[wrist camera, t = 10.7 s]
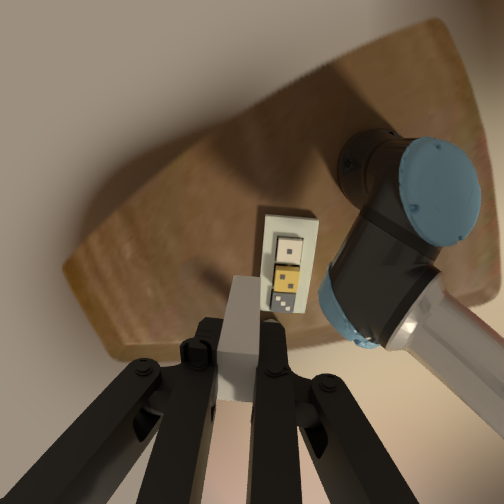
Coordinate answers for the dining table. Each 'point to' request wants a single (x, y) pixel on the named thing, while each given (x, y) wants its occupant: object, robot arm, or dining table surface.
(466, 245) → the dining table surface
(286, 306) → the tile
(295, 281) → the tile
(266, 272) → the tile board
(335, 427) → the robot arm
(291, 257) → the tile
